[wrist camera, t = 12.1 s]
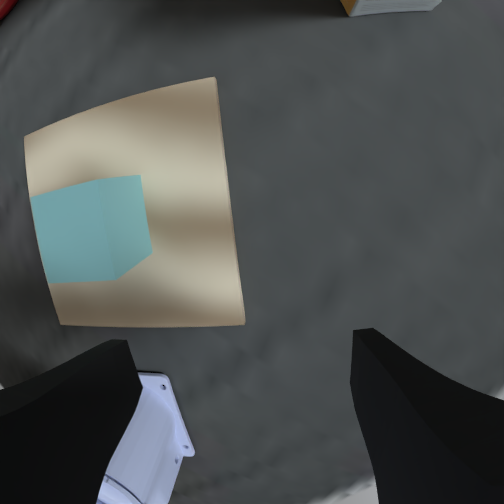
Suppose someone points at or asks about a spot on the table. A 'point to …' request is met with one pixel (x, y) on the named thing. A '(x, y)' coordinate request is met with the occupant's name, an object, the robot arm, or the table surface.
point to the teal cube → (92, 229)
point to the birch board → (151, 206)
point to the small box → (386, 6)
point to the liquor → (6, 7)
